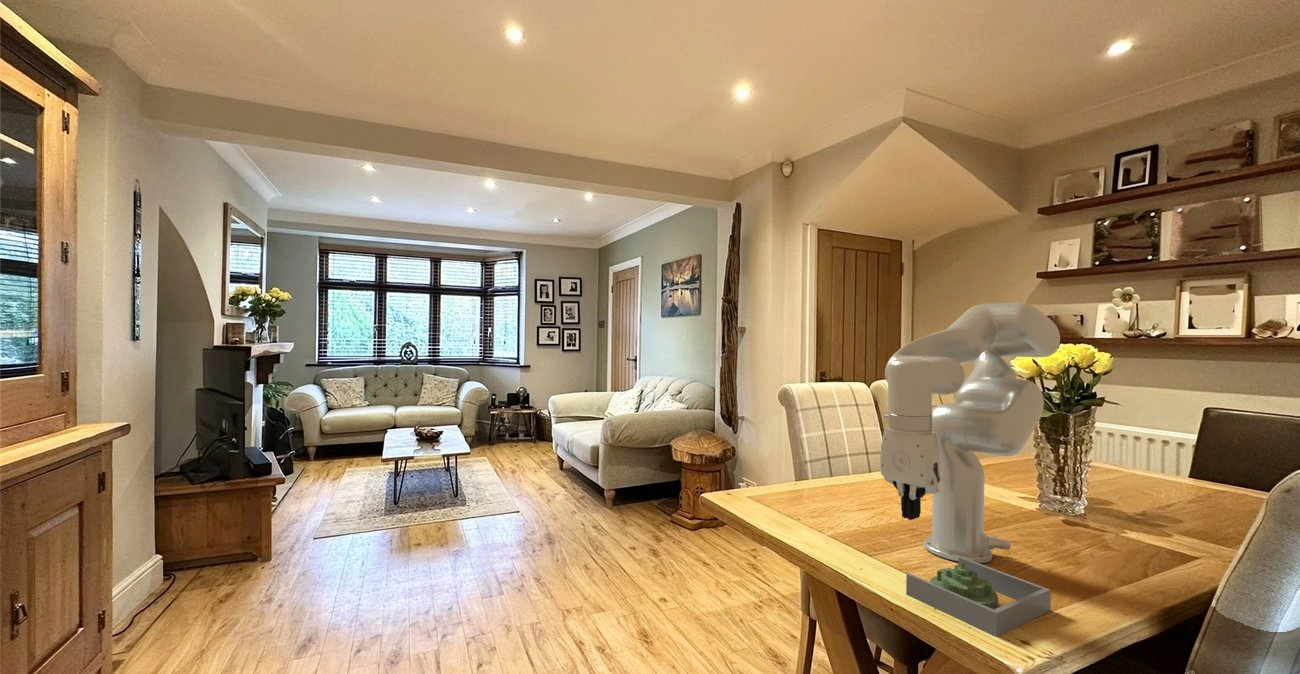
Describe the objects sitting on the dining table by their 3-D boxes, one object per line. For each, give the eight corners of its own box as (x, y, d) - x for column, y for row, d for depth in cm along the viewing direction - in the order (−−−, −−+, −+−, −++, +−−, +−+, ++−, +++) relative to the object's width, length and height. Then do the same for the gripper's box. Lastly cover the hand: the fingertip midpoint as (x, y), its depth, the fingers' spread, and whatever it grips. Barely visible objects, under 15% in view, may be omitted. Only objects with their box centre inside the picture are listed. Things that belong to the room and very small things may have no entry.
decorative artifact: (1005, 625, 82) (989, 596, 91) (1005, 580, 82) (990, 556, 91) (934, 612, 86) (925, 585, 95) (934, 569, 86) (926, 547, 95)
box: (906, 594, 91) (906, 574, 91) (960, 575, 99) (961, 556, 99) (996, 636, 78) (996, 613, 78) (1050, 610, 86) (1050, 589, 86)
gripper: (863, 419, 104) (865, 509, 105) (935, 431, 91) (936, 534, 92) (888, 415, 108) (889, 503, 108) (960, 427, 95) (961, 526, 95)
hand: (910, 517), depth 100 cm, fingers closed
